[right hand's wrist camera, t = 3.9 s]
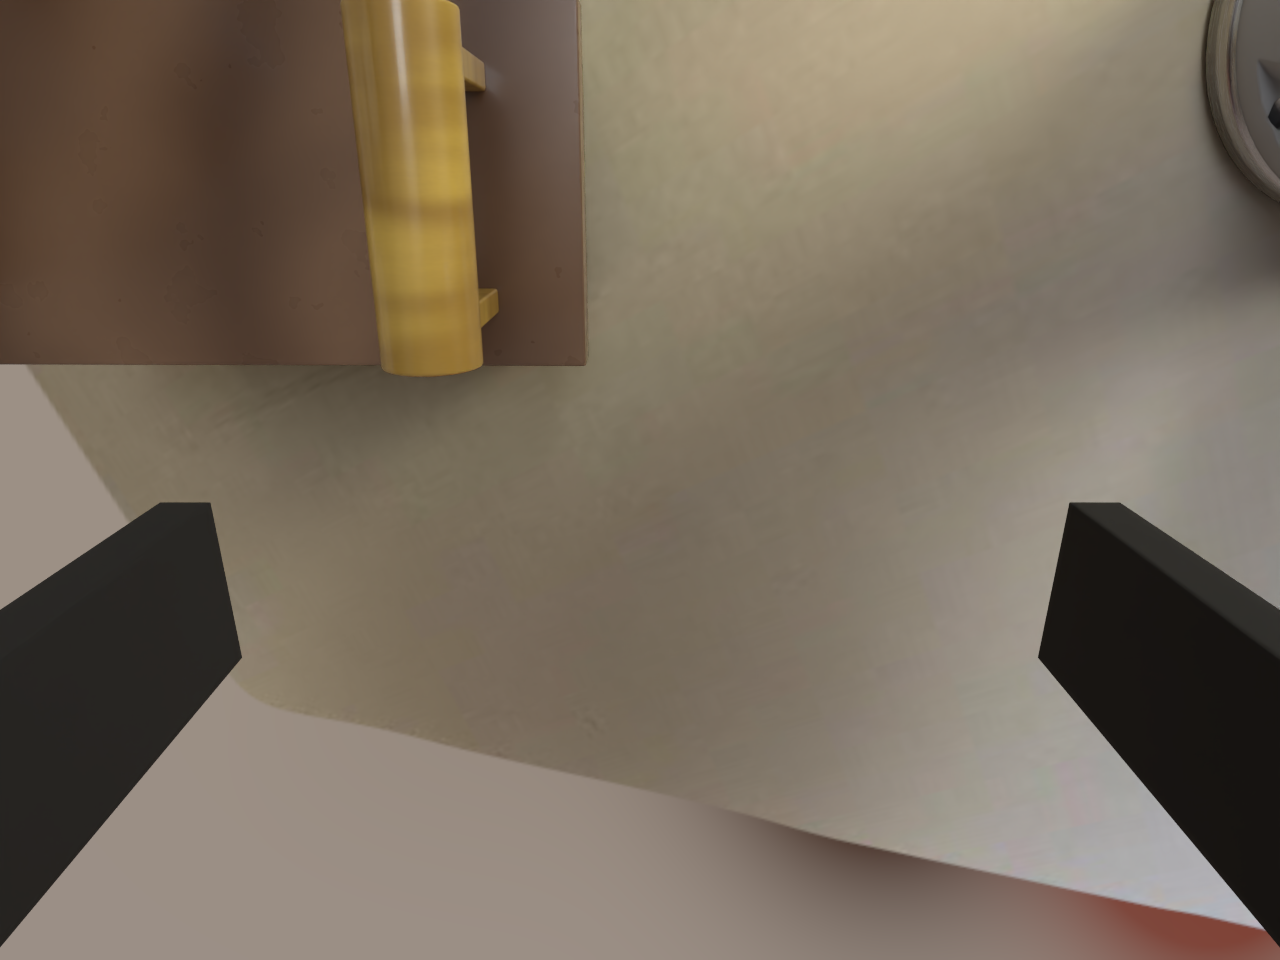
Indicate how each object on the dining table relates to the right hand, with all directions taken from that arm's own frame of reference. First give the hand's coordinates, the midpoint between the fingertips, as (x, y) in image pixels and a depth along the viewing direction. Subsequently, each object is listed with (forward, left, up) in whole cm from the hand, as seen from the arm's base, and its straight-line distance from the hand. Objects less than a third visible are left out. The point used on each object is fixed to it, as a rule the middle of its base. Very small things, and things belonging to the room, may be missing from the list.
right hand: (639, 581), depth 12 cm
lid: (-3, -11, -13) cm, 18 cm away
